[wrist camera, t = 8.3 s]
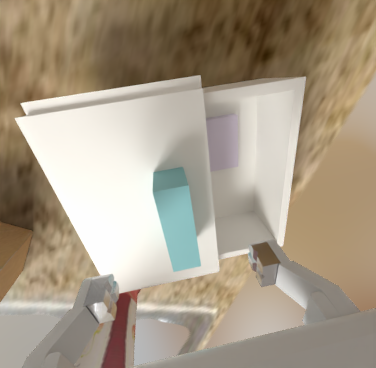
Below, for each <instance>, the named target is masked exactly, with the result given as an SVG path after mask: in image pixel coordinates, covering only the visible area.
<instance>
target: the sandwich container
mask: <svg viewBox="0 0 376 368" xmlns="http://www.w3.org/2000/svg"><path fill="white" fill-rule="evenodd" d="M32 234H33V231H31V230H28V229H24V228H21V227H17V226H13V225H10V224H6V223H2V222H0V302H1V300H2V299H3V298H4V296H5V295H6V293H7V292H8V291H9V289H10V288H11V286H12V285H13V283H14V282H15V281H16V279H17V278H18V276H19V275H20V274H21V272H22V271H23V268H24V264H25V261H26V257H27V254H28V250H29V246H30V242H31V238H32Z"/></svg>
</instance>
